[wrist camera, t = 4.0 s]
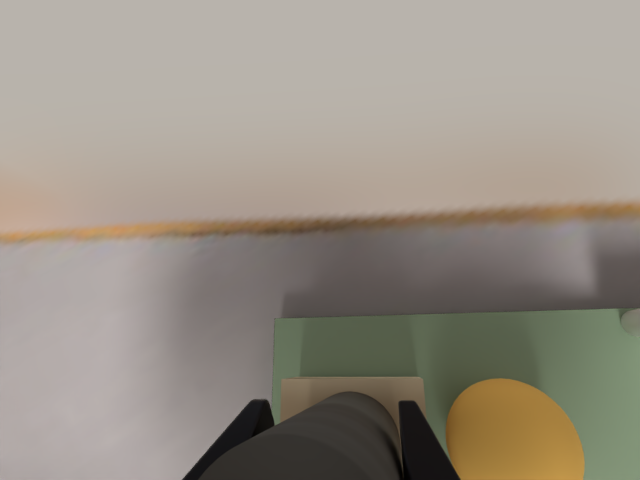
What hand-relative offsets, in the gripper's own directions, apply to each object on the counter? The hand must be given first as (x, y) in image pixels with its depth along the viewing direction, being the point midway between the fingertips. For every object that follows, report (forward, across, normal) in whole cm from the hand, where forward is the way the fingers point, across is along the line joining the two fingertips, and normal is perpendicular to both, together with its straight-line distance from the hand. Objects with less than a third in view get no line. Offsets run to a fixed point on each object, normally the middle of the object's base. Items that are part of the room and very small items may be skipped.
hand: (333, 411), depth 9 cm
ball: (+2, -5, +4) cm, 7 cm away
